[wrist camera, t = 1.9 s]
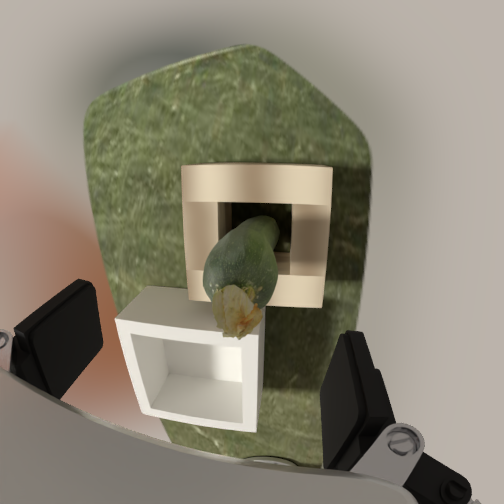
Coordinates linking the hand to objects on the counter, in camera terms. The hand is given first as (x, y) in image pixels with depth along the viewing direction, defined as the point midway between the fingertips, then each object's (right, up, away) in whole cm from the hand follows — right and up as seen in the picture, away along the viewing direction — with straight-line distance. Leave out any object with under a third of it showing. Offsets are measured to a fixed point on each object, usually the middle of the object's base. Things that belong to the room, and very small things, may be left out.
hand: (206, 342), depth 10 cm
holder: (+2, +6, +20) cm, 21 cm away
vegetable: (+3, +6, +20) cm, 21 cm away
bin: (-4, -8, +25) cm, 27 cm away
